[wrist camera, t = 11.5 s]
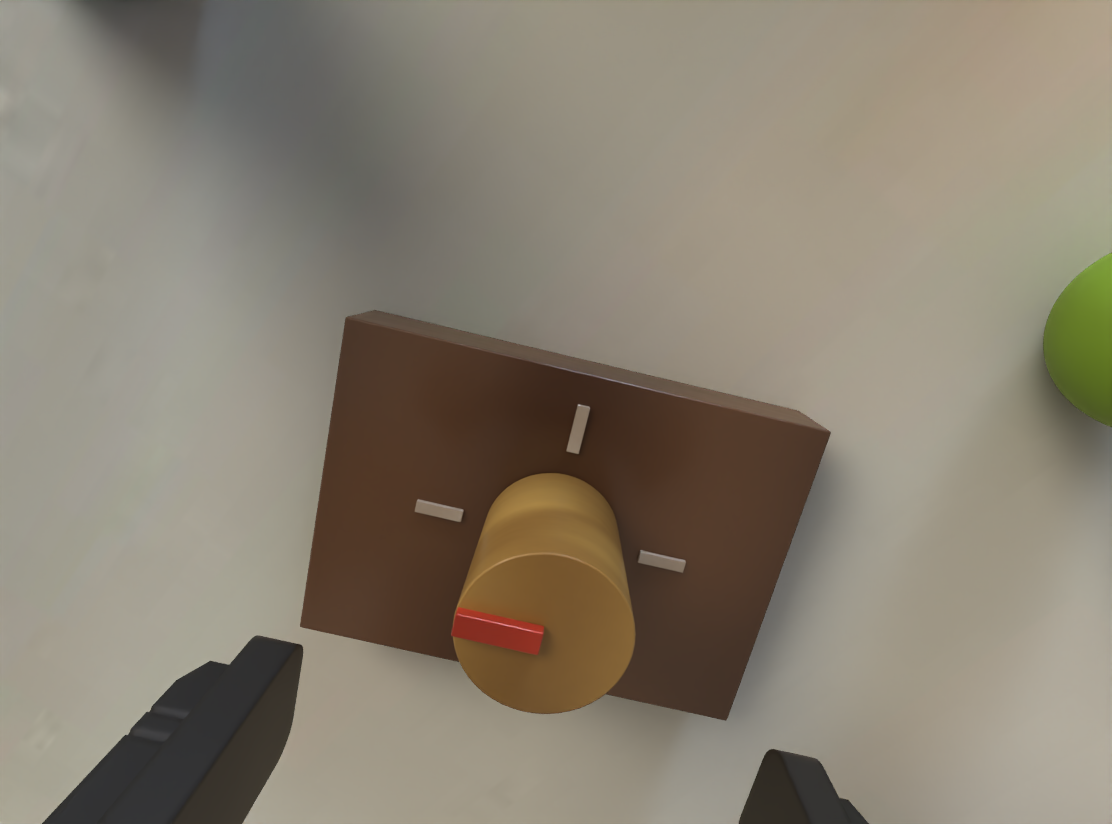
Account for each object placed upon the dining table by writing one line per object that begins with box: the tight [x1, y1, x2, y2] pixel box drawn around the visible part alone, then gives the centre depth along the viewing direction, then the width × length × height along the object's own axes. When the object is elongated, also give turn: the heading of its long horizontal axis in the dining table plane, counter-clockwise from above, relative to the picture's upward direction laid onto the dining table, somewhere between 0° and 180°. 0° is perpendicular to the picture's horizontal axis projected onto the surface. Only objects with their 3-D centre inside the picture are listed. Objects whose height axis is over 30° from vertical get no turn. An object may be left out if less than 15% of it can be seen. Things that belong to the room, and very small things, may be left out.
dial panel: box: [300, 310, 831, 720], centre depth 19 cm, size 14×10×3 cm
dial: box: [451, 473, 636, 714], centre depth 15 cm, size 4×4×5 cm
